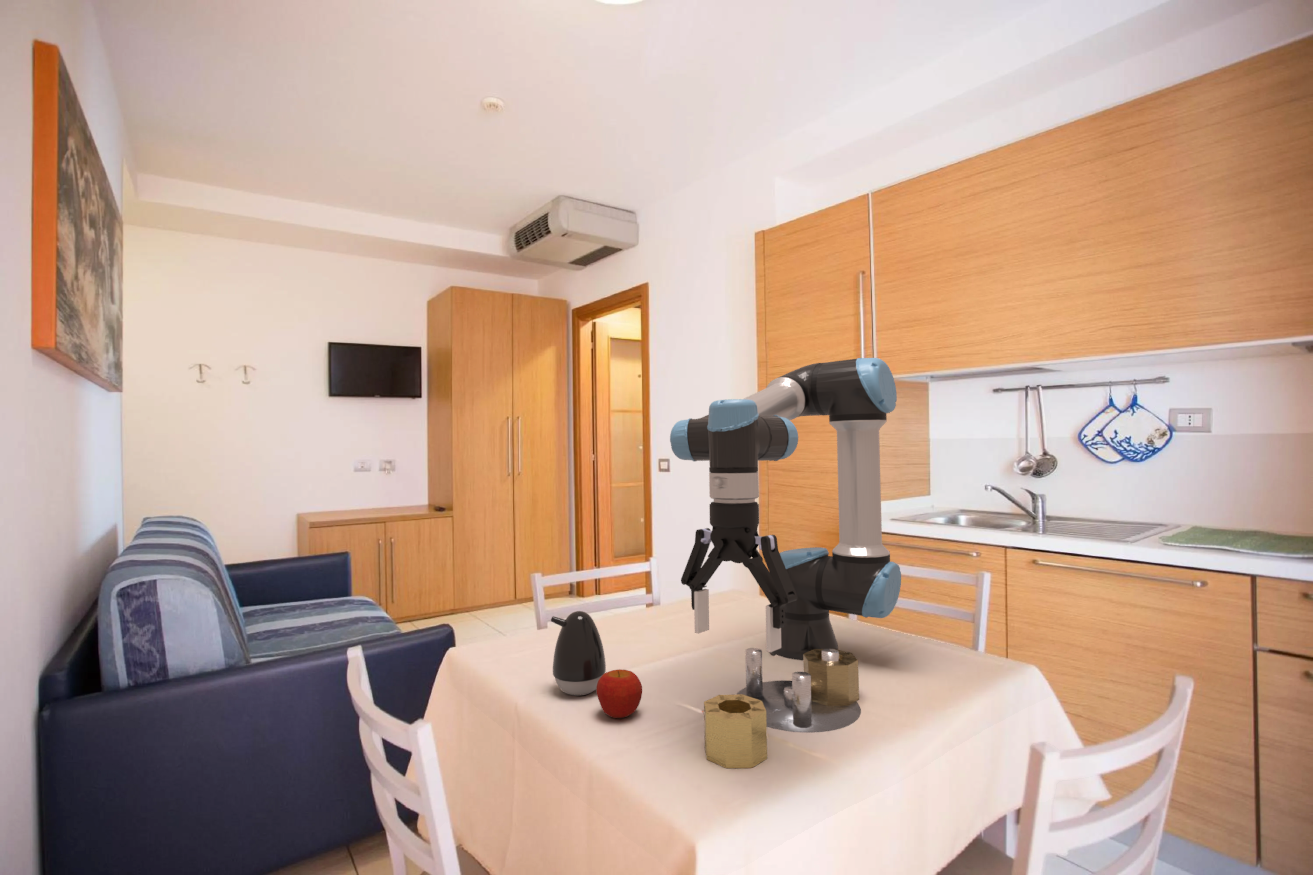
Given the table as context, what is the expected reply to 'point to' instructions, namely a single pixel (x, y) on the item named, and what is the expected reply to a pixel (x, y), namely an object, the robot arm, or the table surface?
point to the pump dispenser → (578, 654)
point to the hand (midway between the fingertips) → (736, 640)
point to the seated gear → (832, 678)
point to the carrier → (795, 699)
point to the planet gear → (735, 731)
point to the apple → (619, 693)
